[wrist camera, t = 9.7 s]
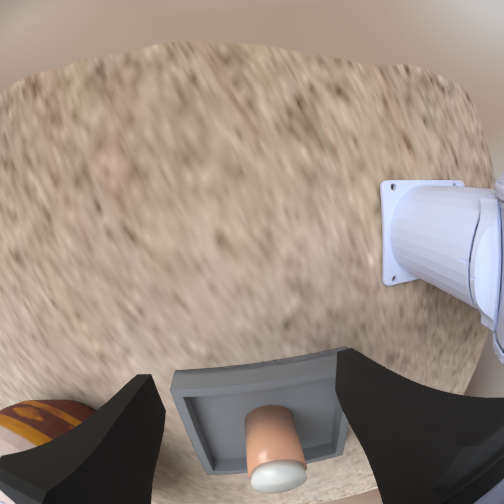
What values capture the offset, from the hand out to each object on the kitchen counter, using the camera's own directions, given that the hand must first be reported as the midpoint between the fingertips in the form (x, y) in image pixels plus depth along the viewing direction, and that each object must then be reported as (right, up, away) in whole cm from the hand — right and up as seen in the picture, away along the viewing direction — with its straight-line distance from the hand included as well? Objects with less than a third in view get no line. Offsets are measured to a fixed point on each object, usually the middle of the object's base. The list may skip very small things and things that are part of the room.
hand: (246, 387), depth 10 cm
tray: (+2, -10, +12) cm, 16 cm away
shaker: (+2, -10, +12) cm, 15 cm away
